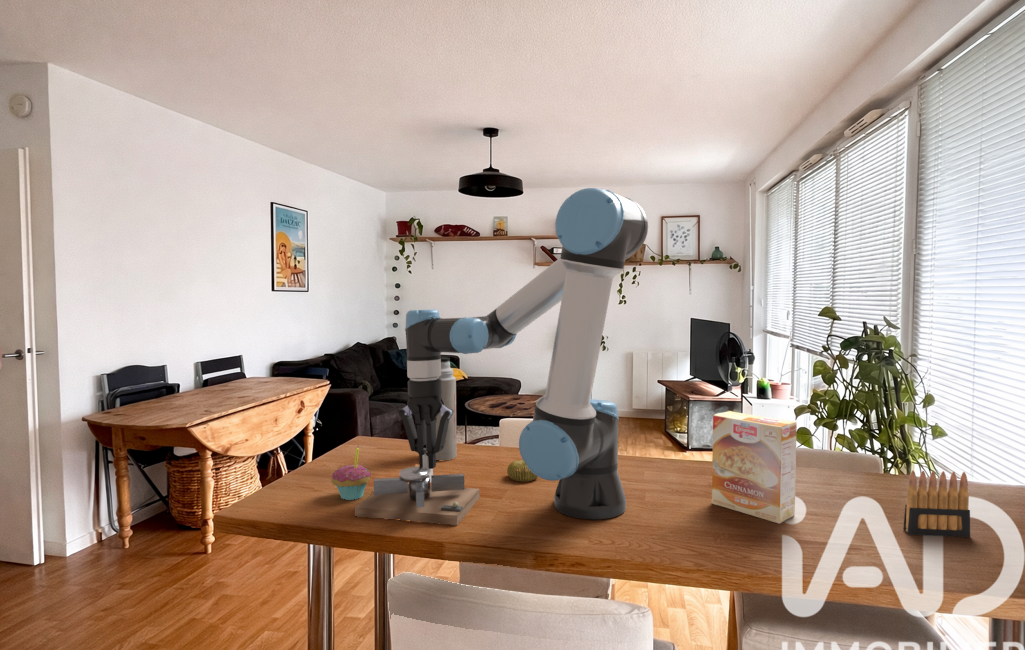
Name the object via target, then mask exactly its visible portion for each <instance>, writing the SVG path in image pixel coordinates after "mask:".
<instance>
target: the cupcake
mask: <svg viewBox="0 0 1025 650" xmlns="http://www.w3.org/2000/svg"><path fill="white" fill-rule="evenodd" d="M359 447H360V445H359V444H358V445H357V448H355V454H354V464H347V465H344V466H343V465H342V466H339V468H337V469H336V470H335V471H334V472H333V473H332V474H331V479H330V480H331V483H332V484H333V485H334V486H336V488H337V490H338V493H339V495H340V498H341V499H342V500H344V499H345V501H353V500H354V499H355V500H358V498H359V499H361V498H362V497H363V495H364V493H365V490H366V489H365V488H366V486H367V483H369V482H370V481H371V476H372V474H371V471H370V470H369V469H368V468H366V467H365V466H363V465H361V464H358V460H359V452H360V448H359ZM355 500H354V501H355Z"/></svg>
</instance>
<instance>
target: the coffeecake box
mask: <svg viewBox="0 0 1025 650" xmlns="http://www.w3.org/2000/svg"><path fill="white" fill-rule="evenodd" d="M797 426H798V425H797V421H790V420H787V419H786V420H785V419H779V418H774V417H773V418H772V417H767V416H761V415H755V414H749V413H742V412H738V411H730V410H729V411H728V410H727V411H725V412H719V413H715V414H712V457H711V458H712V461H711V462H712V463H711V464H712V467H711V469H712V470H711V471H712V472H711V473H712V474H711V504H713V505H715V506H719V507H723V508H726V509H729V510H733V511H736V512H738V513H743V514H746V515H750V516H752V517H757V518H759V519H762V520H765V521H769V522H773V523H775V524H779V525H780V524H782V523H783V522H785V521H787V520H788V519H791V518H792V517H795V515H796V513H795V512H796V507H795V506H796V472H797V471H796V469H797V468H796V466H797V464H796V463H797Z"/></svg>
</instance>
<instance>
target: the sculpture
mask: <svg viewBox="0 0 1025 650" xmlns="http://www.w3.org/2000/svg"><path fill="white" fill-rule="evenodd" d="M506 470H507V475H508V477H509V478H510V479H511V480H513V481H516V482H520V483H521V482H523V483H524V482H525V483H526V482H531V481H534V480H536V479H537V478H539V477H538V476H536V475H535V474H534V473H532V472H531V471H530V470H529V469H528V467H527V465H526V463H525V461H523V459H520V460H514V461H512V462H511V463H509V465H508V466H507V469H506Z"/></svg>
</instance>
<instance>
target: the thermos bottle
mask: <svg viewBox="0 0 1025 650" xmlns="http://www.w3.org/2000/svg"><path fill="white" fill-rule="evenodd" d="M450 359H451V358H450V357H443V356H442V357H441V376H440V377H439V378H440V379H441V380H442V400H443V402H444V406H445V407H447V408H448V409H453V411H454V413H453V414H452V416H451V418H450V420H449V425H448V429H447V434H446V439H445V444H444V448H443V450H441V451H439V452H438V453H436V460H449V461H451V460H450V459H453V458H455V457H456V456H457V451H458V450H457V446H458V445H457V443H458V441H457V381H456V380H457V378H456V377H455V376H454V374H455V372H454V369H453V368H452V367H451V362H450V361H451V360H450ZM441 417H442V416H441V411H440V413H439V414H438V416H437V422H436V438H437V433H438V429H439V424H440V420H441ZM456 458H457V457H456ZM456 458H455V459H456ZM453 460H454V459H453Z"/></svg>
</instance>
